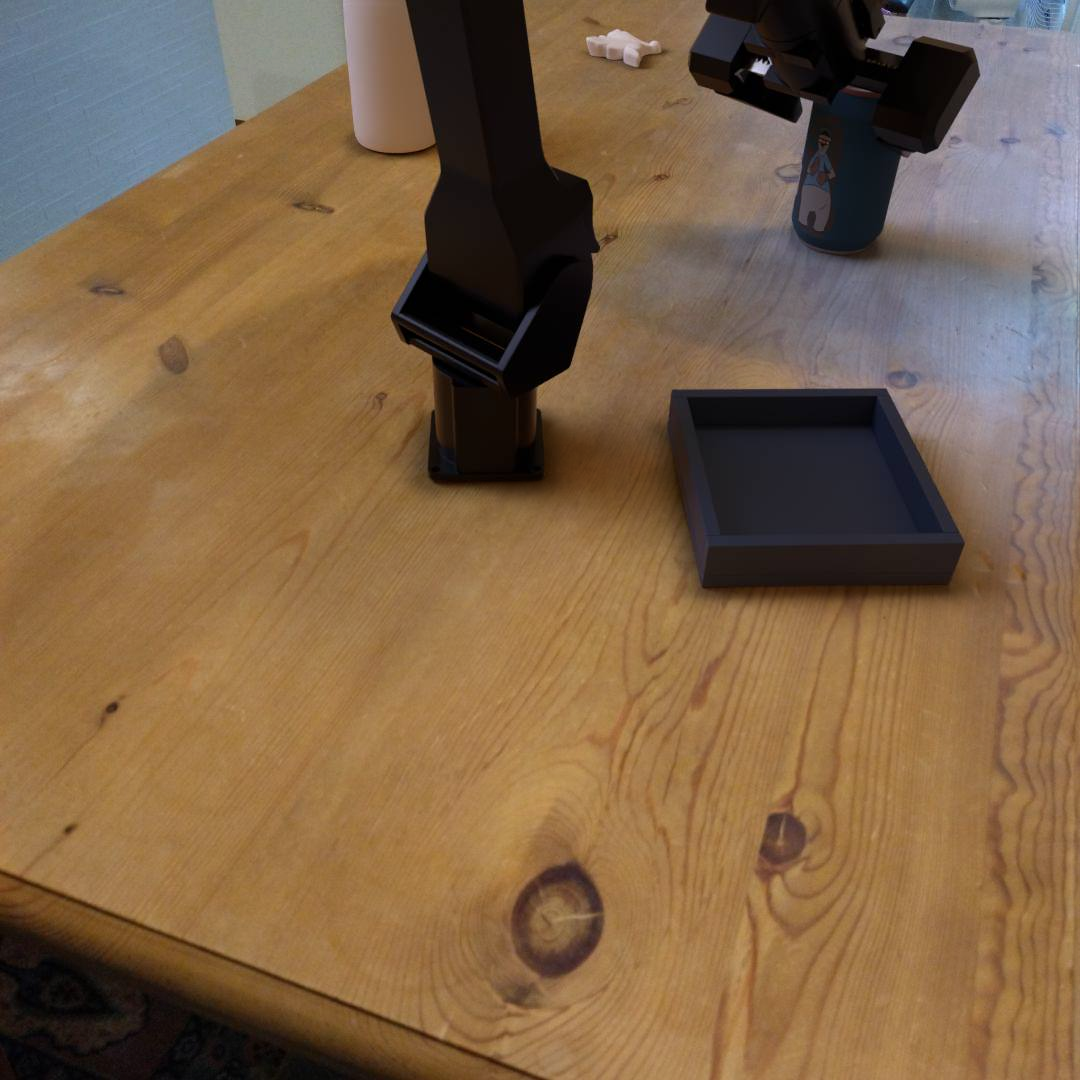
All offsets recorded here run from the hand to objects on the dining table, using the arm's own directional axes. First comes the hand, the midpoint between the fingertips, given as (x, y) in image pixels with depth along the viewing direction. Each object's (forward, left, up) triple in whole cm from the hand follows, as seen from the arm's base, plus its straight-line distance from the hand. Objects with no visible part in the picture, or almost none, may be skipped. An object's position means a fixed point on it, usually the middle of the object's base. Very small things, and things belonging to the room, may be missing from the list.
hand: (852, 133), depth 77 cm
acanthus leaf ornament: (+45, +12, -8) cm, 48 cm away
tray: (-32, +10, -8) cm, 34 cm away
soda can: (0, 0, -8) cm, 9 cm away
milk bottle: (+20, +35, -8) cm, 41 cm away
